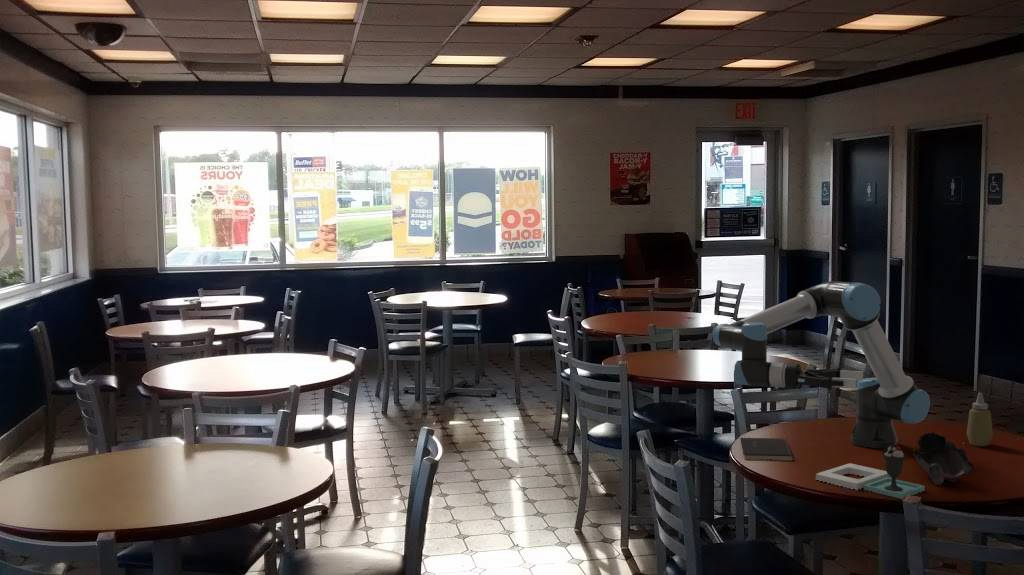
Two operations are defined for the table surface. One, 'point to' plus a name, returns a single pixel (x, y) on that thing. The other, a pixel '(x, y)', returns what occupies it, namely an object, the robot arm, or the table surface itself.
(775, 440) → the hardcover book
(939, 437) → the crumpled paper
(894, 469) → the sundae
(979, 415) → the squeeze bottle
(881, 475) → the board
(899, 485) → the tray
